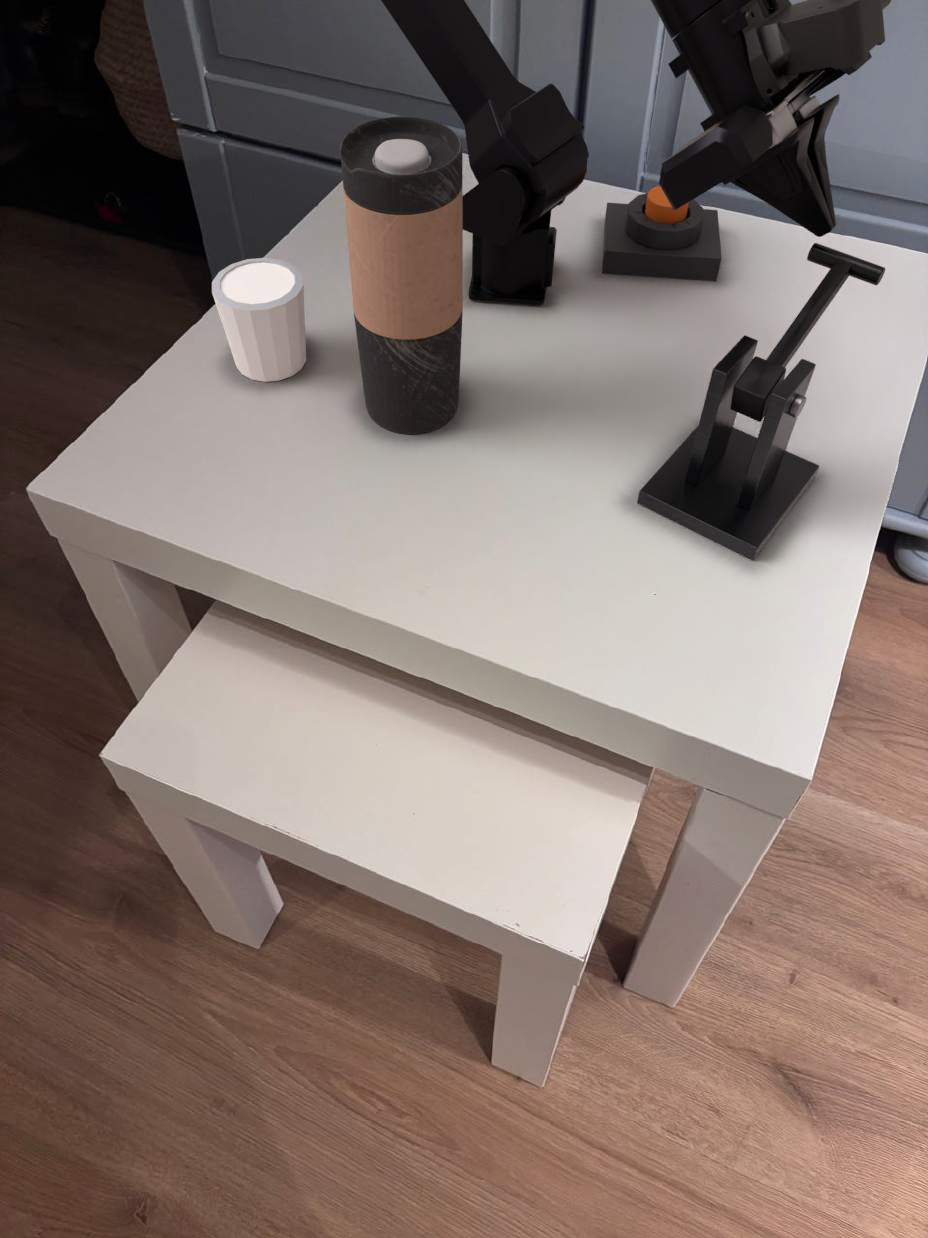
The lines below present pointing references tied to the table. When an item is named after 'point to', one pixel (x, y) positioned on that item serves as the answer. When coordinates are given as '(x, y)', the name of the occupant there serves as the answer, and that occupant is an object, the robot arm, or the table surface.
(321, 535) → the table surface
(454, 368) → the travel mug
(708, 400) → the switch bracket
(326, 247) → the table surface
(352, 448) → the table surface
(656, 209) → the power button
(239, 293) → the shot glass
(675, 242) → the control block
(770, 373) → the switch lever
